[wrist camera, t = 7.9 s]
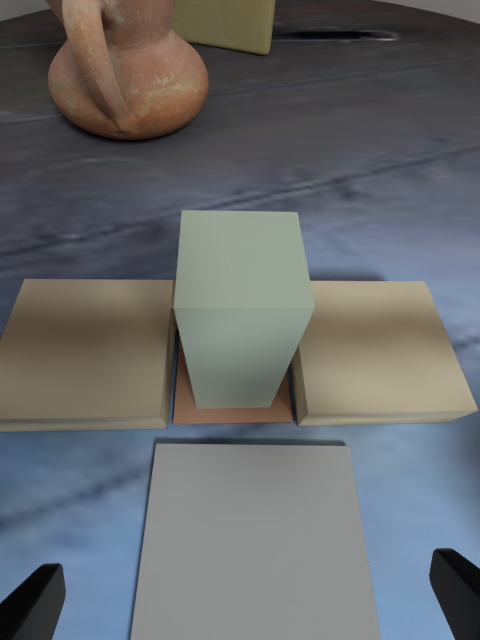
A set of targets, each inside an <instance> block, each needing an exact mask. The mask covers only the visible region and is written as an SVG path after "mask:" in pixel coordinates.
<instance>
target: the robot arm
mask: <svg viewBox="0 0 480 640" xmlns="http://www.w3.org/2000/svg"><path fill="white" fill-rule="evenodd" d="M429 577H430V583H431V586H432V588H433V591H434V593H435V595H436V597H437V600H438V602H439V604H440V606H441V609H442V611H443V613H444V615H445V618H446V620H447V622H448V624H449V627H450V629H451V631H452V633H453V636H454V638H455V640H480V569H479V568H478V567H477V566H475V565H474V564H473V563H471V562H470V561H469V560H467V559H466V558H465V557H463V556H462V555H460V554H459V553H458V552H456V551H455V550H453V549H450V548H439V549H435V550H434V551H433V556H432V561H431V567H430V573H429ZM65 593H66V589H65V581H64V574H63V567H62V565H61V564H59V563H52V564H43V565H42V566H40V567H39V568H38V569H37V570H35V571H34V572H33V573H32V574H31V575H30V576H29V577H28V578H27V579H26V580H25V581H24V582H23V583H22V584H21V585H19V586H18V587H17V588H16V589H15V590H14V591H13V592H12V593H11V594H10V595H9V596H8V597H7V598H6V599H4V600H3V601H2V602H1V603H0V640H52V638H53V635H54V631H55V628H56V625H57V622H58V619H59V616H60V613H61V610H62V607H63V604H64V600H65Z"/></svg>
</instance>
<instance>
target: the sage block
mask: <svg viewBox="0 0 480 640" xmlns="http://www.w3.org/2000/svg"><path fill="white" fill-rule="evenodd" d="M314 309H315V305H314V299H313V294H312V289H311V283H310V278H309V272H308V267H307V262H306V256H305V251H304V246H303V240H302V235H301V230H300V224H299V219H298V214H297V212H257V211H192V210H182V215H181V227H180V239H179V251H178V263H177V275H176V287H175V298H174V312H175V316H176V320H177V325H178V329H179V333H180V338H181V342H182V346H183V351H184V355H185V359H186V364H187V368H188V372H189V377H190V381H191V385H192V389H193V394H194V398H195V402H196V407H197V409H216V408H262V407H270V406H271V404H272V402H273V399H274V397H275V395H276V393H277V391H278V388H279V386H280V384H281V382H282V380H283V377H284V375H285V373H286V371H287V369H288V366H289V364H290V362H291V360H292V358H293V355H294V353H295V351H296V349H297V346H298V344H299V342H300V340H301V338H302V335H303V333H304V331H305V329H306V327H307V324H308V322H309V320H310V318H311V316H312V313H313V311H314Z"/></svg>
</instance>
